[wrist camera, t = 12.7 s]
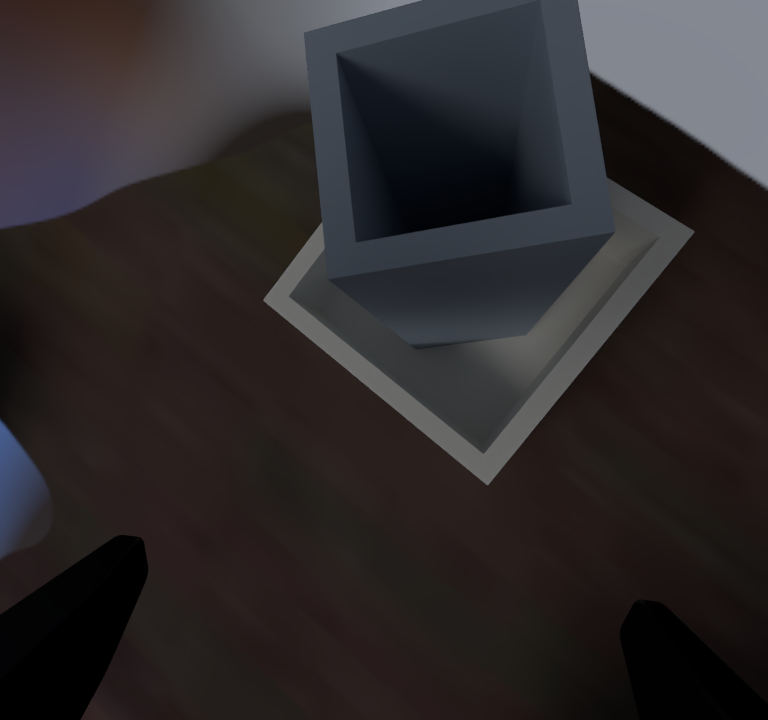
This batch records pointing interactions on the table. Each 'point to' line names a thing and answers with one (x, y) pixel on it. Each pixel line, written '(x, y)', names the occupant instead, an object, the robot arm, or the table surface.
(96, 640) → the robot arm
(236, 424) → the table surface
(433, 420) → the cream crate
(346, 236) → the grey hollow square tube
